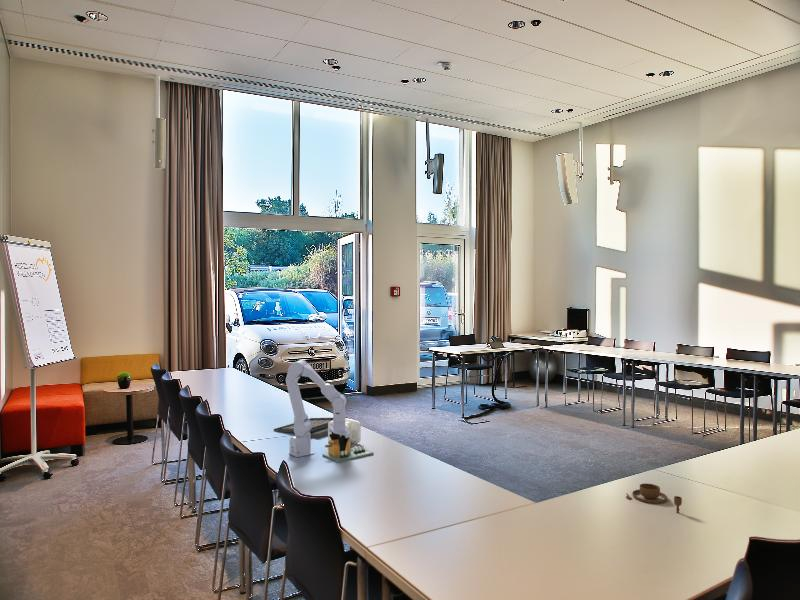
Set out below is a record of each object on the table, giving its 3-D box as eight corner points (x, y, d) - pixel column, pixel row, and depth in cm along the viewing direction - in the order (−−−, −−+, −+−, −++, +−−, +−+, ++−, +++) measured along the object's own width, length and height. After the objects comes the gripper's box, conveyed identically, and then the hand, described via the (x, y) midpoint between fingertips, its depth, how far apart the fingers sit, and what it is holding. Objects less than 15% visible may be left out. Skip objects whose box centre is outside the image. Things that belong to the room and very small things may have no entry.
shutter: (275, 441, 311) (318, 442, 295) (273, 429, 311) (316, 428, 295) (312, 427, 338) (354, 426, 322) (311, 415, 338) (353, 414, 322)
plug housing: (328, 457, 258) (328, 444, 258) (322, 454, 262) (322, 441, 262) (350, 452, 266) (350, 439, 266) (344, 450, 270) (344, 437, 270)
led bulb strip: (355, 453, 264) (355, 447, 264) (353, 453, 265) (353, 446, 265) (365, 451, 267) (365, 445, 267) (363, 450, 268) (363, 444, 268)
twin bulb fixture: (341, 458, 256) (341, 451, 256) (339, 457, 257) (339, 451, 257) (348, 456, 259) (348, 450, 259) (347, 456, 260) (347, 449, 260)
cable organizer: (362, 444, 283) (362, 421, 283) (346, 449, 276) (346, 425, 276) (342, 439, 294) (342, 417, 293) (326, 443, 286) (326, 420, 286)
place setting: (672, 496, 213) (672, 480, 213) (684, 516, 194) (685, 499, 194) (623, 491, 218) (623, 476, 218) (630, 511, 198) (630, 494, 198)
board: (338, 462, 253) (338, 460, 253) (322, 456, 263) (322, 453, 263) (373, 454, 266) (373, 452, 266) (357, 448, 276) (357, 446, 276)
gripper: (355, 422, 262) (355, 451, 262) (337, 417, 273) (337, 445, 273) (342, 425, 257) (342, 454, 257) (325, 419, 268) (325, 447, 268)
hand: (339, 450), depth 265 cm, fingers closed on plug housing, 5 cm apart
